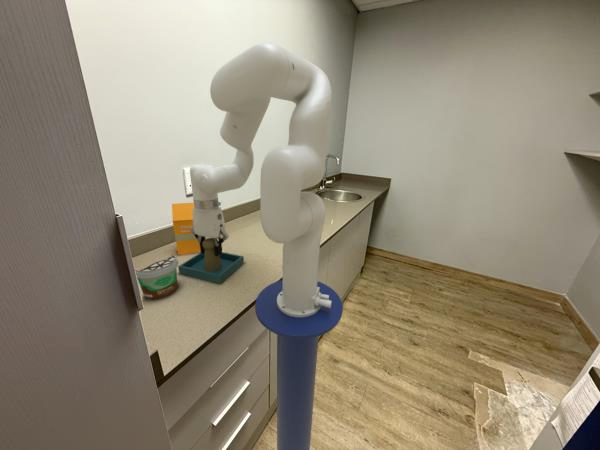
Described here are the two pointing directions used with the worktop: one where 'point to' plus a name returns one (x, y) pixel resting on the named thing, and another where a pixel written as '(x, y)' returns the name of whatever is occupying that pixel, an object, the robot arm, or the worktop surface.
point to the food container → (159, 278)
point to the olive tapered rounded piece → (210, 256)
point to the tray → (196, 270)
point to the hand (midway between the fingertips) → (211, 252)
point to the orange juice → (184, 228)
